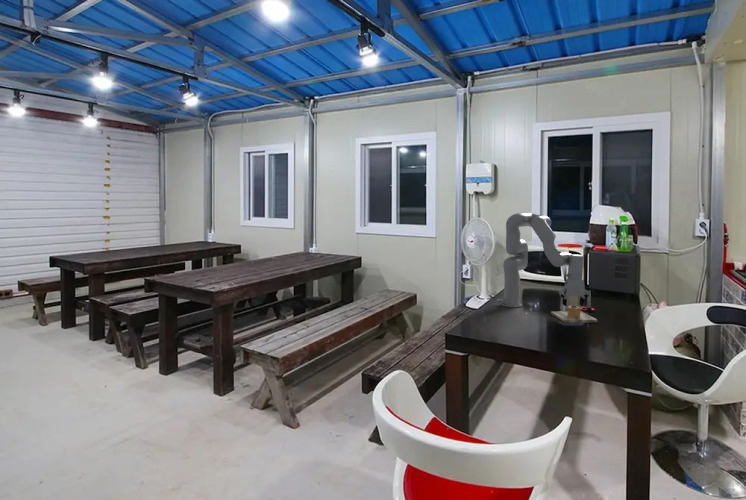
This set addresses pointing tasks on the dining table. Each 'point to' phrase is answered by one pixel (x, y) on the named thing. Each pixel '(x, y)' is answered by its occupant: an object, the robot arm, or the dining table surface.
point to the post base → (568, 319)
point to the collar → (574, 311)
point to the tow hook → (588, 305)
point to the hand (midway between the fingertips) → (572, 305)
